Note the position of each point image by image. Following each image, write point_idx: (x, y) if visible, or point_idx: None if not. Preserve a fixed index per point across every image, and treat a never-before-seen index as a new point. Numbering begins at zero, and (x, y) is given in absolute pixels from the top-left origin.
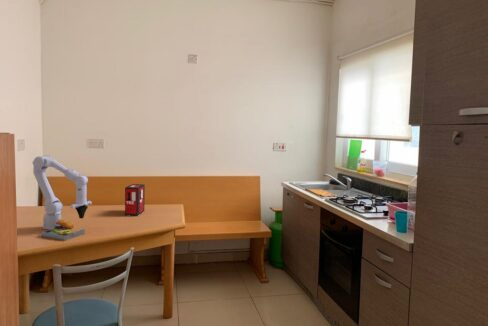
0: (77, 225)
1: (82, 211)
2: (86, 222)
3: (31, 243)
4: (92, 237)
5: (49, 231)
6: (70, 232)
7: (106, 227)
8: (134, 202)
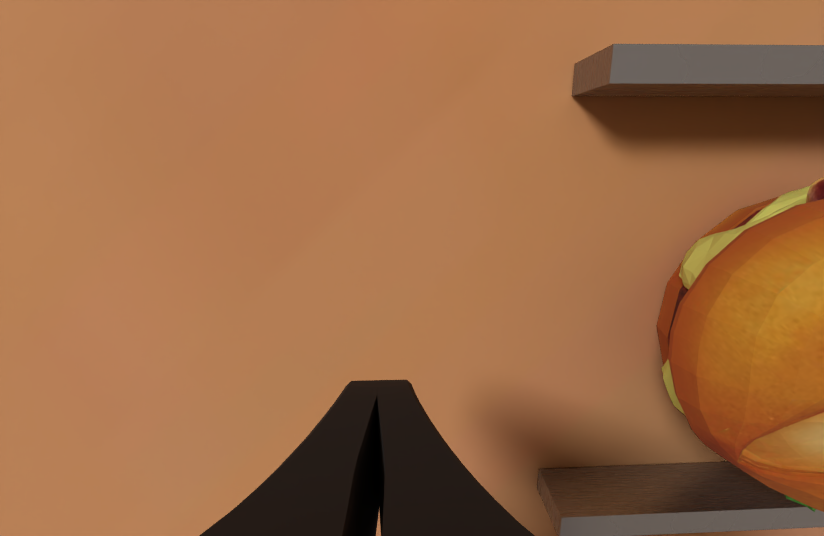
0: None
1: (468, 526)
2: (68, 513)
3: None
4: None
5: None
6: (725, 231)
7: (54, 5)
8: None
